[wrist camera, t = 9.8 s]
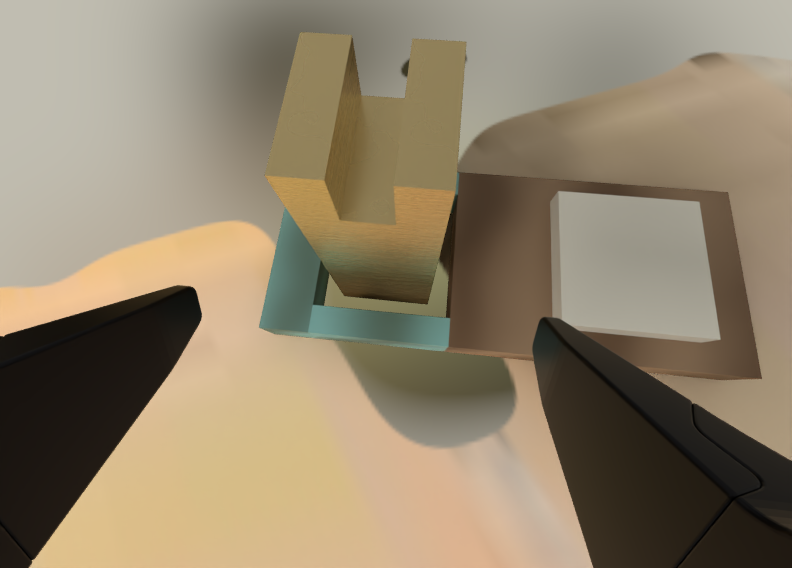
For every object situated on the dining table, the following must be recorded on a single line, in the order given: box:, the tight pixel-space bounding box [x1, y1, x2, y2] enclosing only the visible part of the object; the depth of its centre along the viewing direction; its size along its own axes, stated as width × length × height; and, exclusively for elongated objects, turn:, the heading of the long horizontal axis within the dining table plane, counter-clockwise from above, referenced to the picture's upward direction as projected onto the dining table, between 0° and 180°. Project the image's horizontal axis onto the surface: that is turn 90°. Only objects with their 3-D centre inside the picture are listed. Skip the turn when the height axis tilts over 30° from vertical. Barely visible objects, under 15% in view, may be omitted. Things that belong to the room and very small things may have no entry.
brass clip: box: [265, 32, 466, 304], centre depth 14 cm, size 4×4×11 cm
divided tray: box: [259, 172, 762, 380], centre depth 17 cm, size 22×9×3 cm, turn 84°
